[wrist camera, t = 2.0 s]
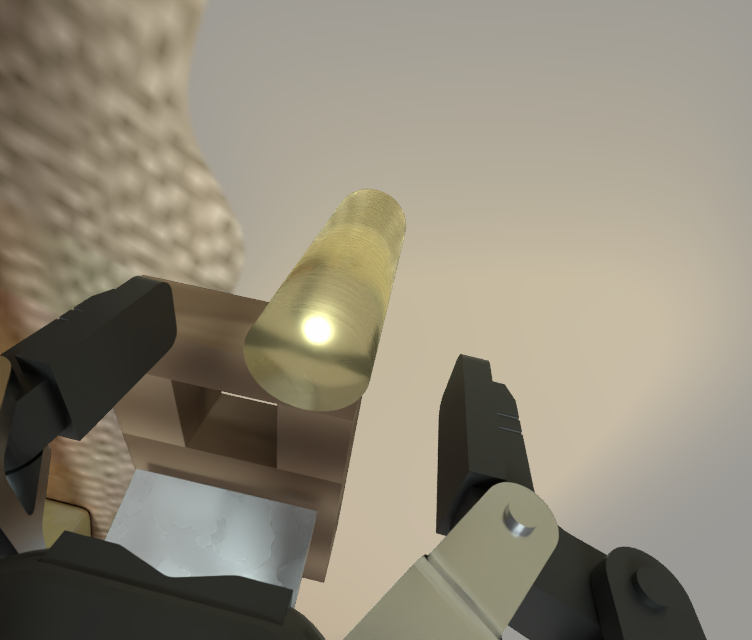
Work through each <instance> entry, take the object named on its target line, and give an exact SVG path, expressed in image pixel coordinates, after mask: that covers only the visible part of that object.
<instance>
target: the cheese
mask: <svg viewBox="0 0 752 640" xmlns="http://www.w3.org/2000/svg"><path fill="white" fill-rule="evenodd" d="M42 528H43V537H44V541H45V546H46V548H50V547H51V546H52V545H53V544H54V543H55V541H56V540H57V539H58V538H59V537H60V535H61V534H62V533H63V532H64V530H66V531H70V532H74V533H77V534H81V535H85V536H89V537H91V528H90V517H89V514H88V512H87V511H86V510H84V509H82V508H79V507H76V506H72V505H68V504H64V503H60V502H56V501H53V500H49V499H45V506H44V514H43V523H42Z"/></svg>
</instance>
